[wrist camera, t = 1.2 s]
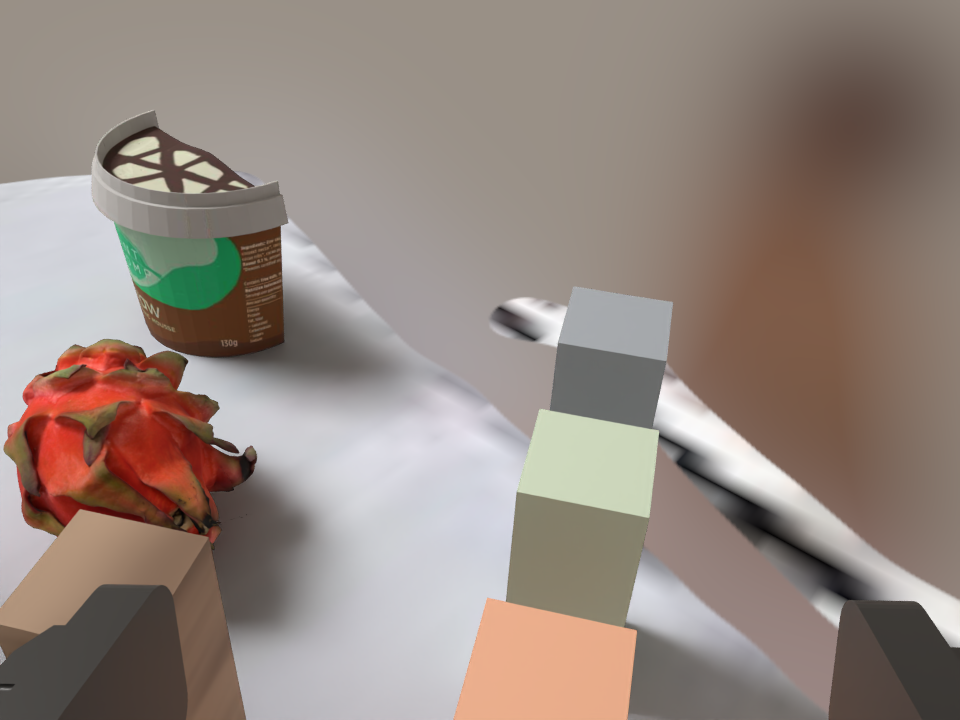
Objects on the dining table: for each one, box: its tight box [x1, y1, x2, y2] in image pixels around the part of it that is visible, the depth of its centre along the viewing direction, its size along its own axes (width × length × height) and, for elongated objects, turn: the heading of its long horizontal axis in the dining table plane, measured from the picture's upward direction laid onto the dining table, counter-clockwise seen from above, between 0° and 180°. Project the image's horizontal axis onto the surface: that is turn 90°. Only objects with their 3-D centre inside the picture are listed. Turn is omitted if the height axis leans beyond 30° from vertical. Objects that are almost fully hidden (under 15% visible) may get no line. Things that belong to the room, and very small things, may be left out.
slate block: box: [550, 287, 673, 429], centre depth 38 cm, size 4×4×10 cm
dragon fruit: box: [4, 339, 257, 550], centre depth 37 cm, size 8×8×12 cm
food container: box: [92, 110, 288, 357], centre depth 47 cm, size 12×6×10 cm, turn 46°
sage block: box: [506, 409, 659, 628], centre depth 32 cm, size 4×4×10 cm
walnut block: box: [0, 509, 246, 720], centre depth 27 cm, size 4×4×10 cm
